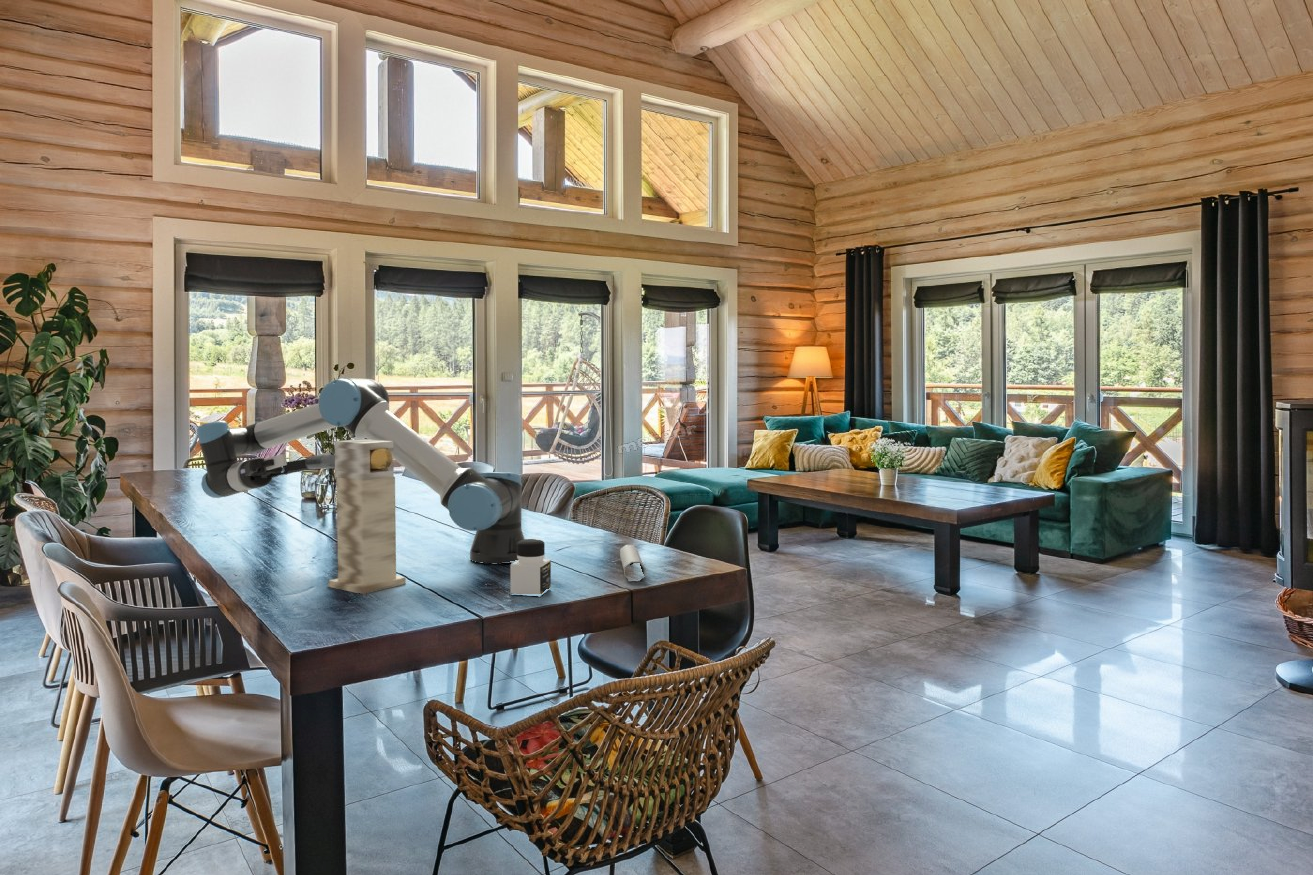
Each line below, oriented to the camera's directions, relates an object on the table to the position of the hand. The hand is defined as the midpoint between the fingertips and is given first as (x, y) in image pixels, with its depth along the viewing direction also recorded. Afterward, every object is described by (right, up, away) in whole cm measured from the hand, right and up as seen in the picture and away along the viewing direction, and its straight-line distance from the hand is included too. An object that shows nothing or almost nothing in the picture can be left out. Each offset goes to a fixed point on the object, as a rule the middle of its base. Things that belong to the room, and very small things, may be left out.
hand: (308, 458), depth 215 cm
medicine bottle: (+57, -30, -18) cm, 67 cm away
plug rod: (+13, -2, -11) cm, 17 cm away
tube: (+79, -29, +6) cm, 84 cm away
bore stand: (+18, -29, -12) cm, 36 cm away
